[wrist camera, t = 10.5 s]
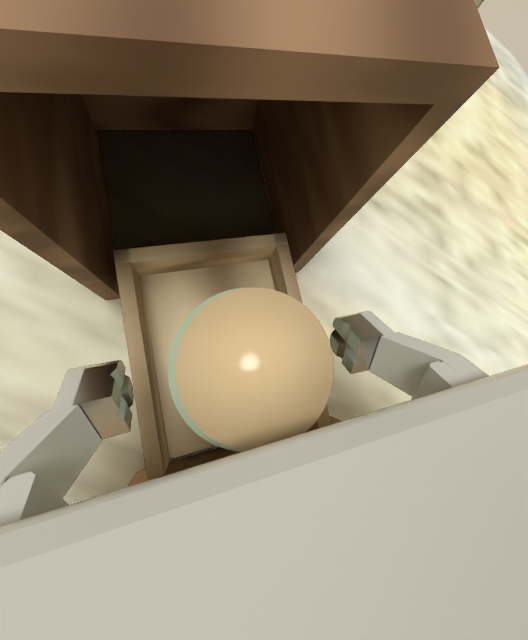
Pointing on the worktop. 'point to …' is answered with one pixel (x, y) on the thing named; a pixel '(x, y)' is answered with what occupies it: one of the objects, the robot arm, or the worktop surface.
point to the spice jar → (250, 368)
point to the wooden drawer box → (223, 104)
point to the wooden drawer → (168, 315)
